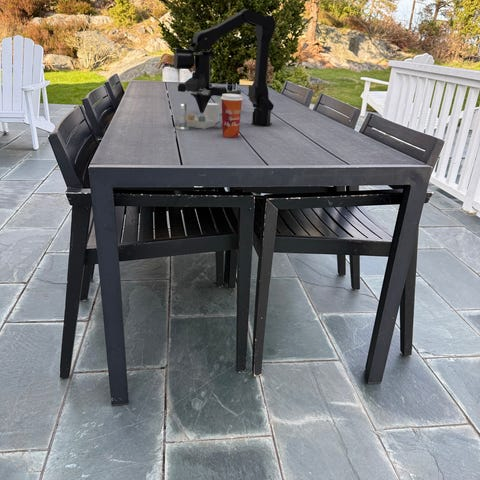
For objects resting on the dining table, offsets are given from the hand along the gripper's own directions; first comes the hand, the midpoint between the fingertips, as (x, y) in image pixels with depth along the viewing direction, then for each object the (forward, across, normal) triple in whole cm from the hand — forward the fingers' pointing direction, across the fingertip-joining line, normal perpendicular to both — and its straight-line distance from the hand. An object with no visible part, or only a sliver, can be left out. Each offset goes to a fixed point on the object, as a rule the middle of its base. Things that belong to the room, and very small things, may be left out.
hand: (201, 112), depth 168 cm
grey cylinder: (+5, -2, +12) cm, 13 cm away
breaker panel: (+5, -2, 0) cm, 6 cm away
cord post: (+5, -2, -10) cm, 11 cm away
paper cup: (+5, +18, -8) cm, 20 cm away
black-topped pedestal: (+6, -9, +36) cm, 37 cm away
